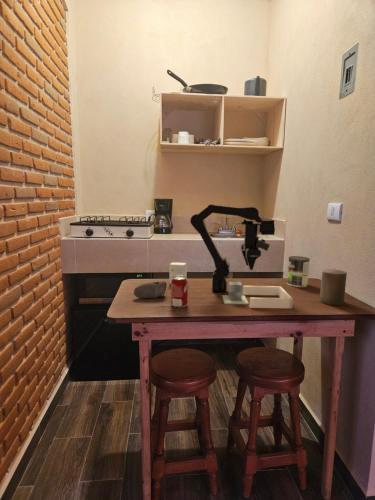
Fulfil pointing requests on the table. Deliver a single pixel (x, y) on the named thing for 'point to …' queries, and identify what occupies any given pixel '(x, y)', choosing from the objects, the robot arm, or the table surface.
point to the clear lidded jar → (298, 271)
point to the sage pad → (227, 301)
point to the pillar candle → (333, 286)
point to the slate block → (235, 291)
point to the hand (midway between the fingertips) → (249, 267)
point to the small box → (177, 270)
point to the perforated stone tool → (150, 290)
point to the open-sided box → (281, 302)
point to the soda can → (179, 291)
